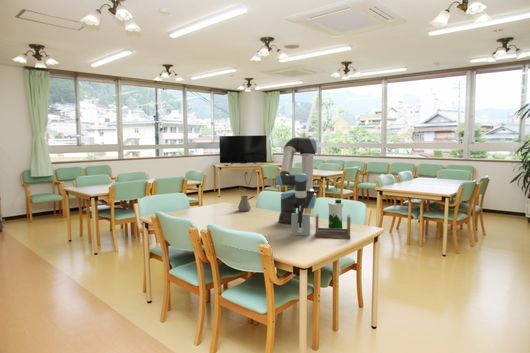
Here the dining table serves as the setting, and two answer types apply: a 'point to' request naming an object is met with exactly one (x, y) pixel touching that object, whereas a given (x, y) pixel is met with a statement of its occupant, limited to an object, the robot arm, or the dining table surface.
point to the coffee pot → (244, 204)
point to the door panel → (304, 224)
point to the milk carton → (335, 214)
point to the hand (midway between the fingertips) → (300, 230)
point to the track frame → (333, 231)
